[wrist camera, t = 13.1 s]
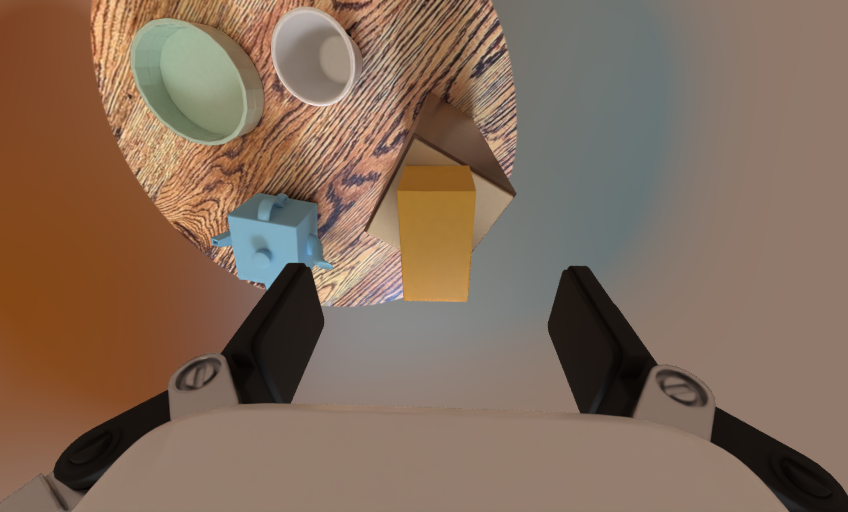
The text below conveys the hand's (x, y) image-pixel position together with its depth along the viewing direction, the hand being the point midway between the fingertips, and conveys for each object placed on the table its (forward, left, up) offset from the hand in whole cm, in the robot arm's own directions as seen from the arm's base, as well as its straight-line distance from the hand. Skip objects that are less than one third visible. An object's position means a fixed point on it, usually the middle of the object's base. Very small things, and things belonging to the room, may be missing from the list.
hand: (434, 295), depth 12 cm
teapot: (+25, -13, -37) cm, 47 cm away
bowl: (+10, -29, -37) cm, 48 cm away
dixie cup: (-1, -15, -37) cm, 40 cm away
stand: (0, 0, -37) cm, 37 cm away
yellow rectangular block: (+1, 0, -8) cm, 8 cm away
